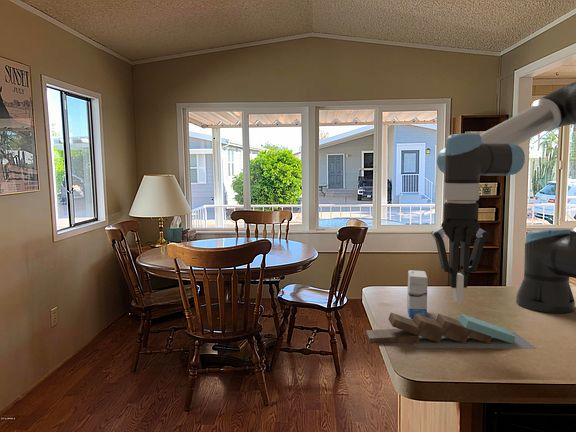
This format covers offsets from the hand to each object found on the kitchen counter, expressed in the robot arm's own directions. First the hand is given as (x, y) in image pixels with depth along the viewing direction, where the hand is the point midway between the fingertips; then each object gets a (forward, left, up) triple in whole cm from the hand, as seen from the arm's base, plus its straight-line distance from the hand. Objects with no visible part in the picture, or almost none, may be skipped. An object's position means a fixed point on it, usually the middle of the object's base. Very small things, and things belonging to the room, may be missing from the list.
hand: (457, 300), depth 105 cm
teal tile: (-12, 0, -9) cm, 15 cm away
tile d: (+4, 0, -8) cm, 10 cm away
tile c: (-1, 0, -9) cm, 9 cm away
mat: (-3, 0, -10) cm, 10 cm away
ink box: (+4, -20, -10) cm, 23 cm away
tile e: (+9, 0, -9) cm, 13 cm away
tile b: (-7, 0, -9) cm, 11 cm away
